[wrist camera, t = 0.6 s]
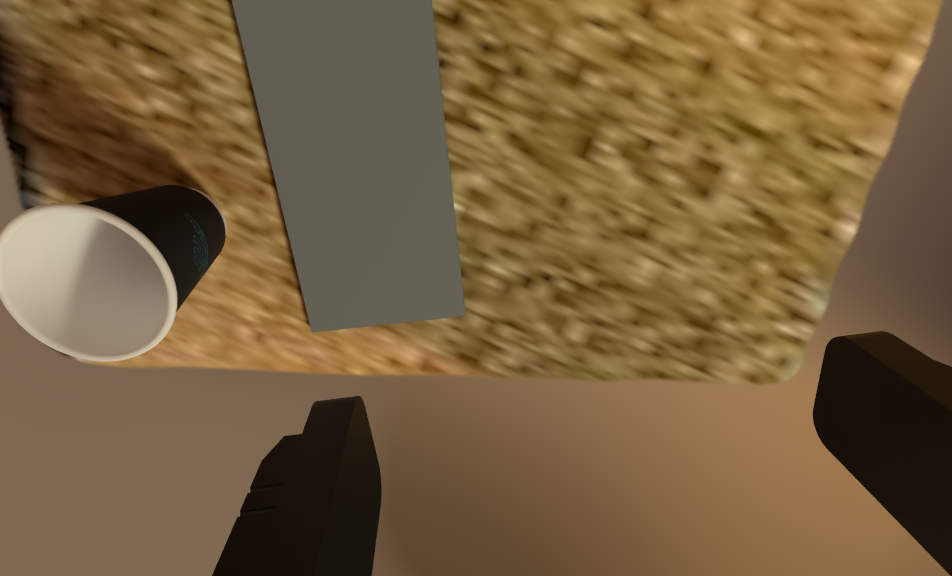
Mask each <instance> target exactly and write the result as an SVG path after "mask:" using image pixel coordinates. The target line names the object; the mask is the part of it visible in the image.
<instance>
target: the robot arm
mask: <svg viewBox="0 0 952 576" xmlns="http://www.w3.org/2000/svg"><path fill="white" fill-rule="evenodd" d="M813 421H814V425H815V428H816V431H817V434H818V436H819V438H820V440H821V441H822V443H823V444H824V445H825V447H826V448H827V449H828V450H829V451H830V452H831V453H832V454H833V455H834V456H835V457H836V458H837V459H838V460H839V461H840V462H841V464H842V465H844V467H845V468H846V469H847V470H848V471H849V472H850V473H851V474H852V475H853V476H854V477H855V478H856V479H857V480H858V481H859V482H860V483H861V484H862V485H863V486H864V487H865V488H866V489H867V490H868V491H869V492H870V493H871V494H872V495H873V496H874V497H875V498H876V500H877V501H878V502H880V503H881V505H882V506H883V507H884V508H885V509H886V510H887V511H888V512H889V513H890V514H891V515H892V516H893V517H894V518H895V519H896V520H897V521H898V522H899V523H900V524H901V525H902V526H903V527H904V528H905V529H906V530H907V531H908V532H909V533H910V534H911V535H912V537H914V539H915V540H916V541H917V542H918V543H919V544H920V545H922V547H923V548H924V549H925V550H926V551H927V552H928V553H929V554H930V555H931V556H932V557H933V558H934V559H935V560H936V561H937V562H938V563H939V564H940V565H941V566H942V567H943V568H944V569H945V570H946V571H947V572H948V574H949V575H950V576H952V367H950V366H948V365H945V364H943V363H940V362H938V361H935V360H933V359H931V358H930V357H928V356H926V355H925V354H923V353H922V352H920V351H918V350H917V349H915V348H913V347H912V346H910V345H909V344H907V343H905V342H904V341H902V340H901V339H899V338H898V337H896V336H894V335H893V334H891V333H888V332H884V331H879V332H871V333H864V334H856V335H847V336H840V337H835V338H833V339H831V340H830V341H829V343H828V344H827V346H826V349H825V354H824V359H823V363H822V368H821V373H820V378H819V383H818V388H817V393H816V398H815V403H814V408H813ZM250 490H251V491H250V493H248V494H247V496H246V498H245V501H244V503H243V505H242V508H241V510H240V517H238V518H237V519H236V522H235V524H234V526H233V528H232V531H231V533H230V535H229V538H228V540H227V542H226V545H225V547H224V549H223V552H222V554H221V556H220V559H219V561H218V563H217V565H216V568H215V570H214V573H213V575H212V576H371V575H372V569H373V561H374V553H375V546H376V537H377V530H378V522H379V515H380V507H381V476H380V468H379V463H378V458H377V454H376V450H375V446H374V442H373V438H372V434H371V429H370V426H369V421H368V417H367V413H366V409H365V405H364V402H363V400H362V398H361V397H360V396H354V397H347V398H339V399H331V400H323V401H316V402H314V404H313V406H312V408H311V411H310V413H309V416H308V419H307V422H306V425H305V427H304V430H303V433H302V434H299V435H290V436H284V437H283V438H282V439H281V440H280V442H279V443H278V444H277V445H276V446H275V447H274V448H273V449H272V450H271V451H270V452H269V453H268V454H267V456H266V457H265V458H264V459H263V460H262V462H261V464H260V466H259V468H258V471H257V473H256V476H255V478H254V480H253V482H252V485H251V487H250Z"/></svg>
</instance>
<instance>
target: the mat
mask: <svg viewBox="0 0 952 576" xmlns="http://www.w3.org/2000/svg"><path fill="white" fill-rule="evenodd" d="M232 3H233V8H234V12H235V16H236V20H237V24H238V28H239V32H240V37H241V41H242V45H243V49H244V53H245V57H246V62H247V66H248V70H249V74H250V78H251V82H252V86H253V91H254V95H255V99H256V103H257V107H258V111H259V116H260V120H261V124H262V128H263V132H264V136H265V140H266V145H267V149H268V153H269V157H270V161H271V165H272V170H273V174H274V178H275V182H276V186H277V190H278V194H279V199H280V203H281V207H282V211H283V215H284V219H285V224H286V228H287V232H288V236H289V240H290V244H291V248H292V253H293V257H294V261H295V265H296V269H297V273H298V277H299V282H300V286H301V290H302V294H303V298H304V302H305V307H306V311H307V315H308V319H309V323H310V327H311V331H312V332H321V331H330V330H339V329H349V328H358V327H367V326H376V325H386V324H395V323H404V322H413V321H423V320H432V319H441V318H451V317H460V316H466V315H465V306H464V296H463V287H462V278H461V269H460V259H459V250H458V241H457V231H456V222H455V213H454V203H453V194H452V185H451V176H450V166H449V157H448V148H447V138H446V129H445V120H444V110H443V101H442V92H441V83H440V73H439V64H438V55H437V45H436V36H435V27H434V17H433V8H432V0H232Z"/></svg>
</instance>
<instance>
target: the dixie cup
mask: <svg viewBox="0 0 952 576" xmlns="http://www.w3.org/2000/svg"><path fill="white" fill-rule="evenodd" d="M226 233H227V224H226V219H225V216H224V214H223V212H222V210H221V208H220V207H219V205H218V204H217V203H216V202H215V201H214V200H213V199H212V198H211V197H210V196H208V195H207V194H205V193H204V192H202V191H200V190H197V189H194V188H190V187H184V186H178V185H166V186H161V187H156V188H151V189H146V190H141V191H136V192H132V193H127V194H122V195H117V196H112V197H107V198H103V199H98V200H93V201H88V202H83V203H78V204H74V203H52V204H45V205H40V206H36V207H33V208H31V209H28V210H26V211H24V212H22V213H20V214H19V215H18V216H16V217H14V218H13V219H12V220H11V221H10V222H9V223H8V224H6V226H5V227H4V228H3V229H2V230H1V232H0V299H1V301H2V303H3V304H4V306H5V307H6V309H7V310H8V312H9V313H10V314H11V315H12V317H13V318H14V319H15V320H16V321H17V322H18V323H19V324H20V325H21V326H22V327H23V328H24V329H25V330H26V331H27V332H29V333H30V334H31V335H32V336H34V337H35V338H36V339H38V340H39V341H41V342H42V343H44V344H46V345H48V346H49V347H51V348H53V349H55V350H58V351H60V352H62V353H65V354H68V355H71V356H74V357H78V358H82V359H87V360H93V361H118V360H124V359H128V358H132V357H135V356H138V355H140V354H142V353H144V352H147V351H148V350H150V349H151V348H153V347H154V346H156V345H157V344H158V343H159V342H160V341H161V340H162V339H163V338H164V337H165V336H166V334H167V333H168V331H169V330H170V328H171V326H172V324H173V321H174V318H175V315H176V312H177V310H178V309H179V308H180V306H181V305H182V304H183V302H184V301H185V299H186V298H187V297H188V295H189V294H190V293H191V291H192V290H193V289H194V287H195V286H196V285H197V283H198V282H199V281H200V279H201V278H202V276H203V275H204V274H205V272H206V271H207V270H208V268H209V267H210V266H211V264H212V263H213V262H214V260H215V259H216V258H217V256H218V255H219V254H220V252H221V250H222V248H223V246H224V243H225V237H226Z"/></svg>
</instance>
